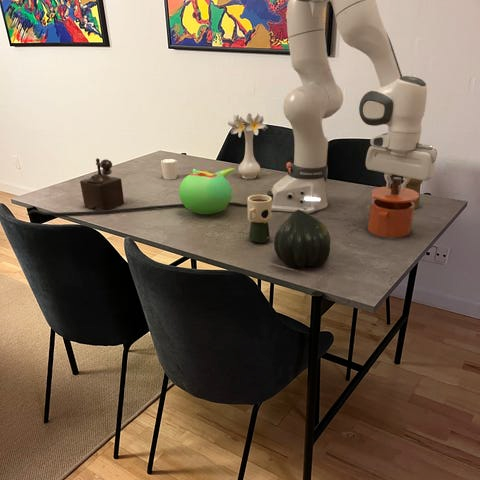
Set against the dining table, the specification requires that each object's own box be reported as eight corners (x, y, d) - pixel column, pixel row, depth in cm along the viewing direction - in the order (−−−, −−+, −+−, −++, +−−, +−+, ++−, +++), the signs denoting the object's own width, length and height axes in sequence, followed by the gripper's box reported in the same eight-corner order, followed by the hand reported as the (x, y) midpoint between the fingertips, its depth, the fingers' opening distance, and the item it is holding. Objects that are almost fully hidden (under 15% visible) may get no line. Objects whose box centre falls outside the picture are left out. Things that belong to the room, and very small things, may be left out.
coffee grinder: (82, 207, 173) (72, 156, 163) (104, 198, 180) (96, 149, 171) (113, 215, 165) (105, 162, 156) (135, 206, 173) (129, 154, 164)
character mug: (260, 249, 140) (260, 205, 133) (239, 244, 144) (239, 201, 137) (278, 236, 148) (279, 195, 141) (258, 232, 151) (258, 191, 144)
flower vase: (241, 170, 212) (241, 108, 198) (274, 177, 201) (275, 113, 188) (220, 176, 204) (218, 112, 190) (253, 184, 193) (253, 118, 179)
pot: (358, 236, 147) (361, 207, 143) (379, 218, 160) (383, 191, 155) (398, 245, 141) (403, 215, 136) (417, 226, 154) (422, 198, 149)
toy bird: (172, 217, 163) (168, 173, 155) (193, 201, 176) (191, 160, 169) (222, 223, 158) (220, 178, 150) (239, 206, 171) (239, 164, 163)
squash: (329, 261, 120) (332, 204, 122) (269, 260, 123) (273, 204, 125) (328, 276, 134) (331, 224, 136) (275, 274, 136) (278, 224, 139)
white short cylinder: (177, 179, 200) (176, 162, 196) (160, 180, 200) (159, 162, 196) (179, 175, 206) (178, 158, 202) (163, 175, 206) (161, 158, 202)
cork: (420, 209, 167) (426, 177, 161) (401, 208, 168) (407, 176, 162) (418, 203, 172) (424, 172, 166) (400, 202, 173) (405, 171, 167)
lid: (363, 199, 143) (365, 180, 140) (380, 187, 153) (382, 169, 150) (409, 207, 137) (413, 187, 134) (424, 194, 146) (427, 175, 143)
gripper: (443, 144, 132) (433, 194, 139) (377, 134, 144) (371, 180, 151) (433, 148, 128) (423, 199, 135) (365, 138, 140) (360, 185, 148)
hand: (395, 189), depth 143 cm, fingers closed on lid, 2 cm apart
